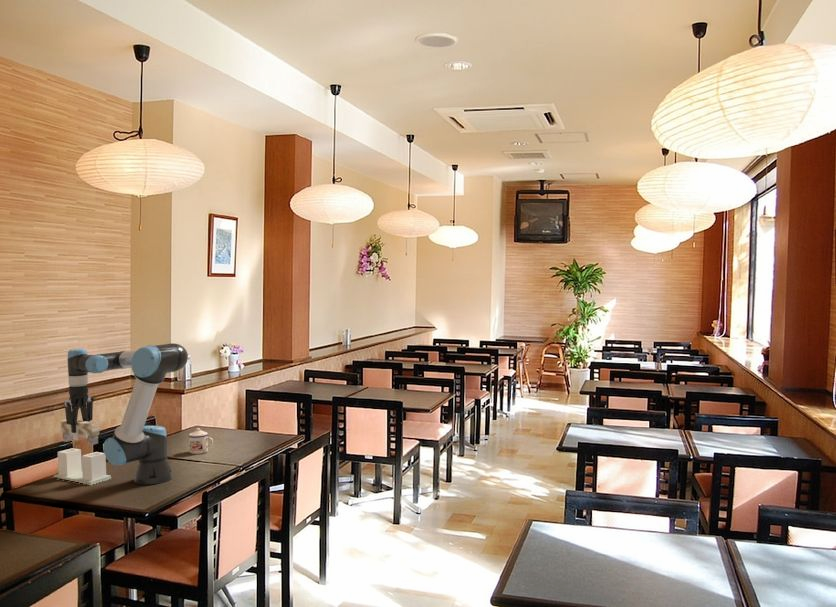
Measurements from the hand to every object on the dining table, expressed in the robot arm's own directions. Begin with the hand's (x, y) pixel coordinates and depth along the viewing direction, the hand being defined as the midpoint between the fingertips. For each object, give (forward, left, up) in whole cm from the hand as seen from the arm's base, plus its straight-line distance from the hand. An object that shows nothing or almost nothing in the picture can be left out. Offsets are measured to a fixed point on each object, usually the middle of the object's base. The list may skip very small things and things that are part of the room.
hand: (80, 438), depth 300 cm
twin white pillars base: (0, 0, -18) cm, 18 cm away
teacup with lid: (-14, -56, -18) cm, 61 cm away
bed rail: (0, 0, -2) cm, 2 cm away
